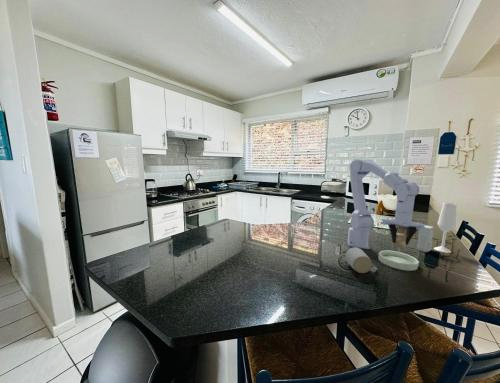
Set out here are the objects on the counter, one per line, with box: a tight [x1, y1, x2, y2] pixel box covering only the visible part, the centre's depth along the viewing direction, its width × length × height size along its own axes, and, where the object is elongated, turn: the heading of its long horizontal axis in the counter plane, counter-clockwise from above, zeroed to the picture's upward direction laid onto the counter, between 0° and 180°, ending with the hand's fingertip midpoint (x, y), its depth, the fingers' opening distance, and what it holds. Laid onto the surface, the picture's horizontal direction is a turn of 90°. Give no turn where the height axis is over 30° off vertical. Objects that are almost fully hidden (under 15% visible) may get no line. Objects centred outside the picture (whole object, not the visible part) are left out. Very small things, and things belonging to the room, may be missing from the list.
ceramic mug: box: [344, 247, 378, 274], centre depth 84 cm, size 11×8×8 cm
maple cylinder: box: [393, 232, 407, 249], centre depth 90 cm, size 4×4×5 cm
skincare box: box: [416, 224, 435, 253], centre depth 107 cm, size 6×4×12 cm
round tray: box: [377, 249, 420, 272], centre depth 91 cm, size 14×14×3 cm
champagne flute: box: [433, 202, 457, 254], centre depth 107 cm, size 7×7×24 cm
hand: (399, 242), depth 90 cm, fingers closed on maple cylinder, 4 cm apart
